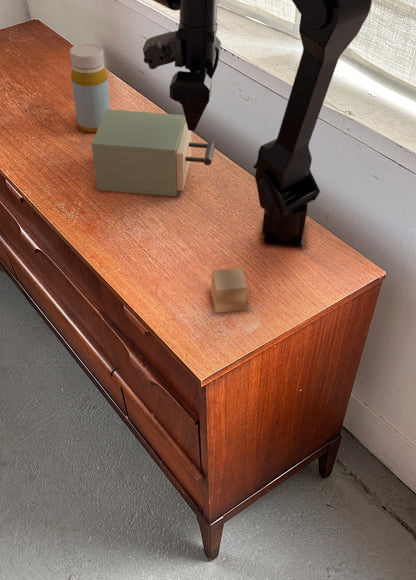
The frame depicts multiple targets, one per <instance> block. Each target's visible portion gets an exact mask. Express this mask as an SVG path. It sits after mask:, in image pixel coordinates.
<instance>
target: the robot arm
mask: <svg viewBox="0 0 416 580" xmlns="http://www.w3.org/2000/svg"><path fill="white" fill-rule="evenodd" d="M152 1H153V2H155V3H157V4H159V5H161V6H163V7H165V8H167V9H170V10H171V11H175V12H176V11H179V22H178V29H177V30H175V31H169V32H165V33H161V34H157V35H155V36H151V37H150V38H147V39H146V40H145V42H144V45H143V47H142V52H143V62H144V64H147V65H148V68H149V70H155V69H158V67H161V66H165V65H169V64H172V63H174V67H175V68H183V67H184V68H185V69H186V70H188V71H185V70H178V71H177V72H175V74H174V75H173V76H172V77H171V80H170V84H169V99H171V100H173V101H174V102H177V103H179V104H180V105H181V108H182V111H183V115H185V122H186V123H187V127H188V130H189V131H191V132H195V131H196V129H197V127H198V125H199V122H200V121H201V119H202V116H203V114H204V112H205V110H206V108H207V106H208V104H209V103H210V99H211V95H212V87H213V80H212V79H213V77H214V75H215V72H216V70H217V67H218V64H219V60H220V56H221V48H222V47H221V45H222V41H221V40H220V39H219V38H218V36H217V33H218V22H217V21H218V20H217V19H218V2H219V0H152ZM291 1H292V3H293V4H294V6H295V7H296V9H297V11H298V12H299V14H300V19H299V26H298V33H299V36H300V40H301V45H302V53H301V56H300V60H299V62H298V66H297V70H296V74H295V76H294V80H293V83H292V87H291V89H290V94H289V97H288V100H287V102H286V103H287V104H286V108H285V110H284V113H283V117H282V120H281V124H280V126H279V131H278V133H277V137H276V138H274V139H273V140H271V141H269V142H266V143H264V144H262V145H261V146H259V149H258V153H257V160H256V162H255V164H254V165H253V170H254V169H255V173H254V181H255V183H256V190H257V195H258V200H259V201H258V202H259V207H260V208H262V209H263V217H262V226H261V227H262V229H261V234H262V235H264V237H263V244H265V245H272V246H283V247H284V246H285V247H296V248H302V247H303V246H304V233H305V226H306V219H307V213H308V204H309V203H311V202H314V201H315V200H317V198H318V197H319V195H320V193H321V190H320V188H319V186H318V184H317V181H316V180H315V177H314V175H313V173H312V171H311V167H312V166H311V165H312V161H313V157H312V154H311V149H310V147H309V145H310V141H311V139H312V136H313V133H314V130H315V128H316V124H317V121H318V119H319V116H320V113H321V111H322V107H323V104H324V102H325V99H326V96H327V93H328V90H329V87H330V84H331V81H332V79H333V76H334V73H335V70H336V68H337V64H338V62H339V60H340V58H341V55H342V54H343V53H345V50H346V49H348V47H349V46H350V44H352V42H353V40H354V39H355V38H356V37H357V36H358V34H359V32H360V31H361V29H362V27H363V25H364V23H365V21H366V19H367V18H368V16H369V14H370V11H371V8H372V0H291Z"/></svg>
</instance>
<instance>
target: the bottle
mask: <svg viewBox="0 0 416 580" xmlns="http://www.w3.org/2000/svg"><path fill="white" fill-rule="evenodd" d="M69 54H70V62H71V68H72V69H71V73H70V79H71V87H72V88H71V89H72V95H73V102H74V109H75V116H76V122H77V123H76V124H77V126H78V127H79V128H80V129H81V130H82V131H84V132H86V133H92V134H93V133H95V134H96V132H97V130H98V128H99V126H100V124H101V121H102V119H103V117H104V115H105V113H106V110H107V109H109V110H112V109H111V100H110V88H109V78H108V72H107V69H106V68H105V63H104V62H105V61H104V60H105V59H104V50H103V48H102V46H101V45H99V44H94V43H79V44H76V45H73V46H72V47H71V48H70V49H69Z"/></svg>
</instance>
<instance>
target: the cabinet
mask: <svg viewBox="0 0 416 580" xmlns="http://www.w3.org/2000/svg"><path fill="white" fill-rule="evenodd" d="M185 122H186V119H185V115H184V114H174V113H161V112H160V113H159V112H147V111H135V110H134V111H133V110H122V109H121V110H119V109H111V110H109V109H107V110H106V113H105V115H104V117H103V119H102V121H101V124H100V126H99V128H98V130H97V132H96V133H95V134H94V137H93V139H92V141H91V152H92V153H91V154H92V161H93V168H94V176H95V185H96V191H105V192H106V191H107V192H118V193H129V194H140V195H153V196H165V197H177V194H178V191H179V190H177V174H176V151H177V147H178V145H179V142H180V138H181V134H182V130H183V127H184V123H185Z"/></svg>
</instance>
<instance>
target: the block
mask: <svg viewBox="0 0 416 580" xmlns="http://www.w3.org/2000/svg"><path fill="white" fill-rule="evenodd" d="M210 284H211V285H210V295H211V298H212V299H211V300H212V303H213V309H214V311H215V313H216V314H217V313H230V312H241V311H246V307H247V306H246V305H247V296H248V295H247V294H248V285H247V281H246V279H245V275H244V271H243V268H242V267H236V268H224V269H223V268H222V269H212V270H211V283H210Z"/></svg>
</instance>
